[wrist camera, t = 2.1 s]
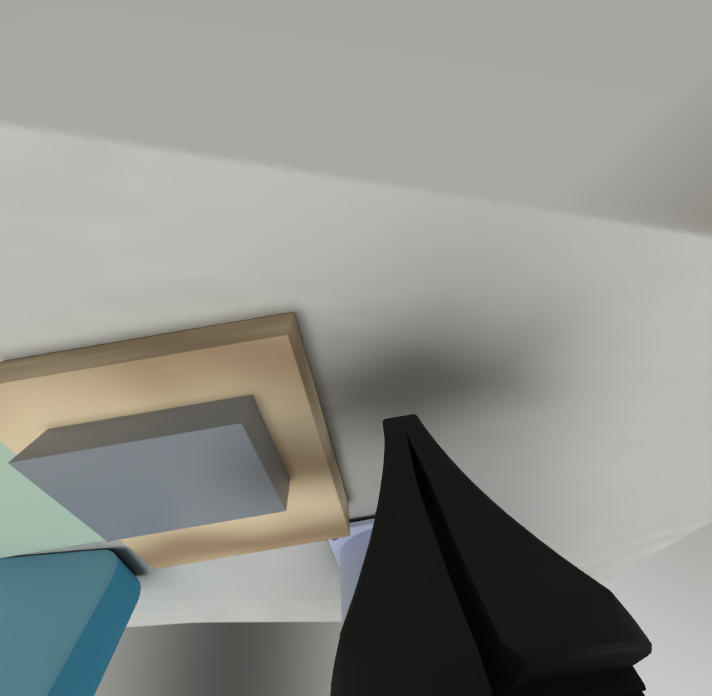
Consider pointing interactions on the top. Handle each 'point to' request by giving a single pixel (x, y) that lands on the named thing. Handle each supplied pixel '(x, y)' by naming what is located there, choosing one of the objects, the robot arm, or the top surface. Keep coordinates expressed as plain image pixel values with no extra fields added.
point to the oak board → (187, 387)
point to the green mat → (34, 516)
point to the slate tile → (161, 468)
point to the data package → (61, 620)
